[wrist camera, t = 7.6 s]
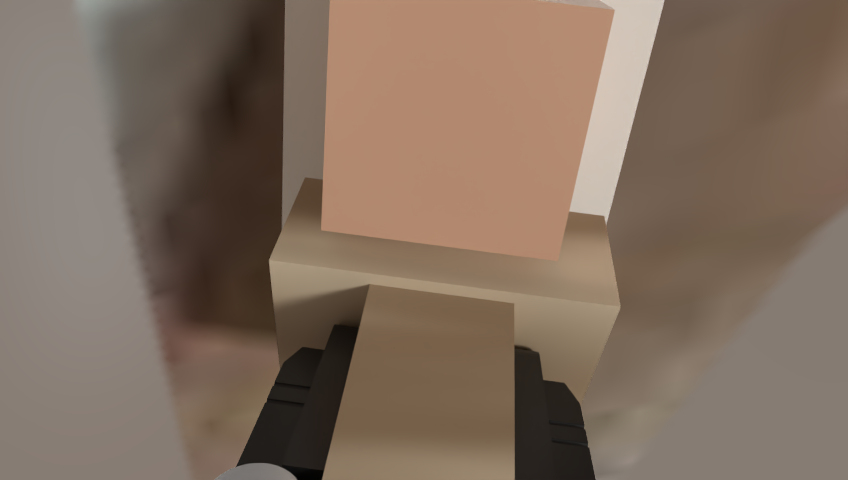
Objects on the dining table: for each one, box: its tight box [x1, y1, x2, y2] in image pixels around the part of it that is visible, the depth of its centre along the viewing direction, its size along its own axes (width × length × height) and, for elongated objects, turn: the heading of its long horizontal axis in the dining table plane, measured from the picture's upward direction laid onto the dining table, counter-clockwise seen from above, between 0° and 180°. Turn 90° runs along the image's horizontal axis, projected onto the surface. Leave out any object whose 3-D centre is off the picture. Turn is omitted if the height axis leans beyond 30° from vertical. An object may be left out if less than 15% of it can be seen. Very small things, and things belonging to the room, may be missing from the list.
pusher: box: [269, 177, 621, 480], centre depth 10 cm, size 3×6×8 cm, turn 84°
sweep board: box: [282, 0, 664, 229], centre depth 16 cm, size 20×8×5 cm, turn 174°
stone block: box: [321, 0, 615, 261], centre depth 12 cm, size 4×4×4 cm
